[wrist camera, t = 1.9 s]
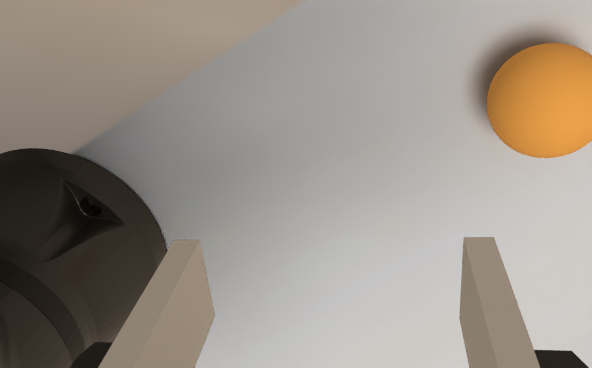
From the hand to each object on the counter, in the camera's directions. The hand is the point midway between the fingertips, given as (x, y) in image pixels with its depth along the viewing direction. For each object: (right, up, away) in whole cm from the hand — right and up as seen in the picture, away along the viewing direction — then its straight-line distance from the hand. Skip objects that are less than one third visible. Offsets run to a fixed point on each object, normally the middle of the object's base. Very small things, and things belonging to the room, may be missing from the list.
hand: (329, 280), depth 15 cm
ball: (+11, +7, +11) cm, 17 cm away
